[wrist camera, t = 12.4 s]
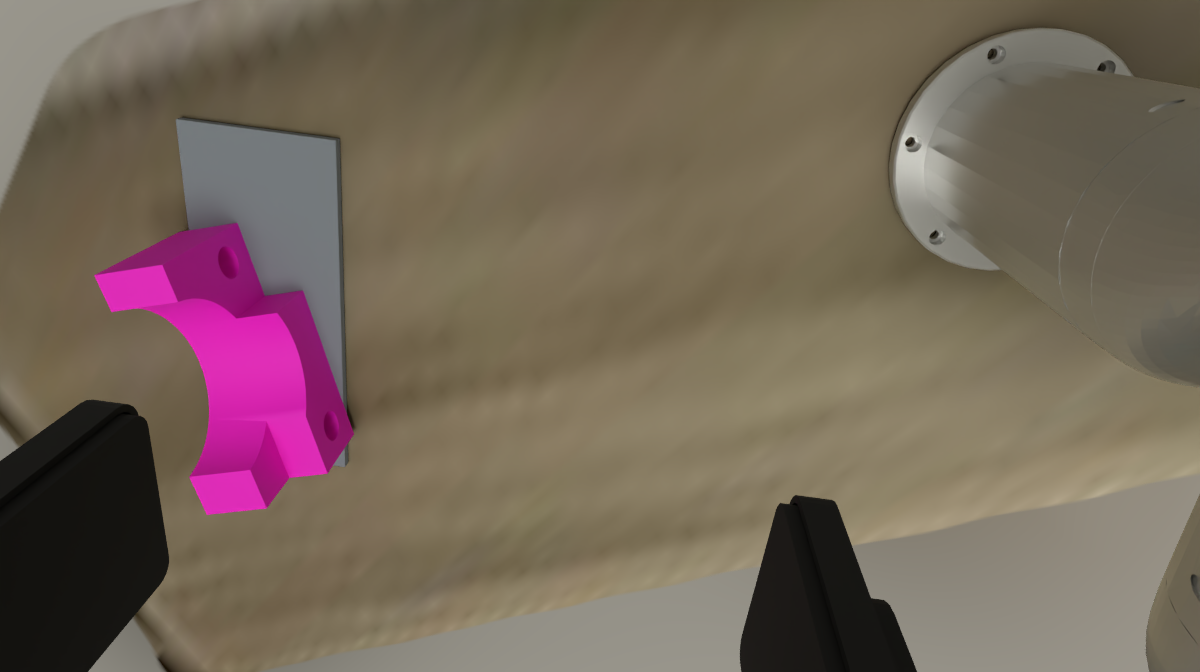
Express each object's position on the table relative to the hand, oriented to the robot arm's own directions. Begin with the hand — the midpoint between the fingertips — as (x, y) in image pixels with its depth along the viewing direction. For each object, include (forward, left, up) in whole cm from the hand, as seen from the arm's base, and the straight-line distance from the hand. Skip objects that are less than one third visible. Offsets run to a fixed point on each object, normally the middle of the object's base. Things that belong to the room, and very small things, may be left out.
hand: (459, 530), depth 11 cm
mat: (+19, +13, -33) cm, 40 cm away
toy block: (+19, +15, -33) cm, 41 cm away
